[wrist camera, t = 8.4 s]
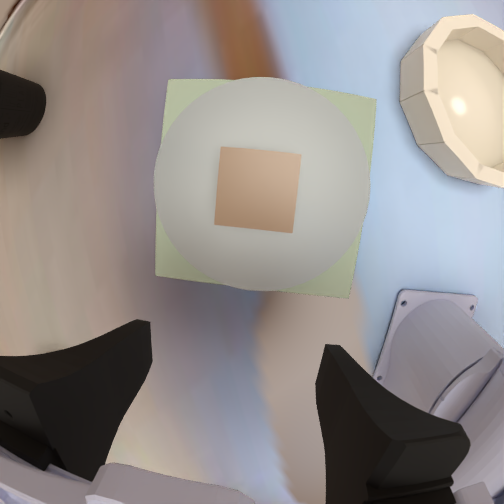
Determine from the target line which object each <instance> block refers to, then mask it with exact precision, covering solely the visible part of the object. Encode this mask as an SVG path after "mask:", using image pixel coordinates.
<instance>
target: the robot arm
mask: <svg viewBox="0 0 504 504" xmlns="http://www.w3.org/2000/svg"><path fill="white" fill-rule="evenodd" d="M404 300H405V303H404V304H402V305H401V302H402V301H404ZM477 302H478V298H477V297H476V296H474V295H465V294H452V293H440V292H428V291H417V290H402V291H401V292H400V293H399V295H398V298H397V302H396V306H395V309H394V313H393V317H392V320H391V323H390V327H389V330H388V333H387V337H386V340H385V343H384V346H383V349H382V352H381V355H380V358H379V361H378V364H377V367H376V369H375V372H374V375H373V378H372V377H371V376H370V375H369V374H368V373H367V372H366V371H365V370H364V369H363V368H362V367H361V366H360V365H359V364H358V363H357V362H356V361H355V360H354V359H353V358H352V357H351V356H350V355H349V354H348V353H347V352H346V351H345V350H344V349H343V348H342V347H341V346H340V345H329V344H325V348H324V353H323V356H322V360H321V364H320V368H319V372H318V376H317V379H316V383H315V385H316V404H317V410H318V415H319V421H320V426H321V431H322V437H323V442H324V449H325V464H326V504H504V349H503V348H502V347H501V346H500V345H499V344H498V343H497V342H496V341H495V340H494V339H493V338H492V337H491V336H490V335H489V334H488V333H487V332H486V331H485V330H484V329H483V328H482V327H480V326H479V325H478V324H477V323H476V322H475V321H474V320H473V319H472V317H473V314H474V311H475V308H476V305H477ZM471 305H472V307H471V308H470V306H471ZM152 362H153V361H152V347H151V330H150V322H148V321H143V320H138V319H136V320H134V321H131V322H129V323H127V324H125V325H123V326H121V327H119V328H116V329H114V330H112V331H110V332H108V333H106V334H104V335H102V336H99V337H97V338H95V339H92V340H90V341H87V342H85V343H82V344H80V345H77V346H74V347H70V348H67V349H64V350H59V351H55V352H50V353H45V354H38V355H29V356H0V504H255V501H254V500H253V499H252V498H250V497H249V496H247V495H245V494H243V493H242V492H240V491H238V490H235V489H231V488H227V487H223V486H219V485H213V484H207V483H201V482H195V481H190V480H185V479H181V478H176V477H171V476H167V475H163V474H159V473H155V472H151V471H147V470H144V469H140V468H137V467H133V466H130V465H124V464H118V463H109V464H106V465H105V462H106V459H107V456H108V453H109V450H110V448H111V445H112V442H113V439H114V437H115V435H116V432H117V430H118V427H119V425H120V423H121V421H122V419H123V417H124V415H125V413H126V412H127V410H128V408H129V407H130V405H131V403H132V401H133V400H134V398H135V396H136V395H137V393H138V391H139V390H140V388H141V386H142V385H143V383H144V381H145V379H146V377H147V374H148V372H149V369H150V367H151V364H152ZM378 376H381V377H379V378H377V377H378Z"/></svg>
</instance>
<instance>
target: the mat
mask: <svg viewBox="0 0 504 504" xmlns="http://www.w3.org/2000/svg"><path fill="white" fill-rule="evenodd" d="M231 81H235V80H221V79H169V80H168V87H167V95H166V103H165V111H164V120H163V129H162V139H161V144H162V142H163V139H164V137H165V135H166V133H167V132H168V130H169V128H170V126H171V125H172V123H173V122H174V121H175V119H176V118H177V117H178V116H179V114H180V113H181V112H182V111H183V110H184V109H185V108H186V107H187V106H188V105H189V104H190V103H192V102H193V101H194V100H195V99H197V98H198V97H199V96H201V95H202V94H204V93H206V92H208V91H209V90H211V89H213V88H215V87H217V86H220V85H222V84H225V83H227V82H231ZM308 88H310V89H312V90H314V91H316V92H317V93H319V94H320V95H322V96H324V97H325V98H327V99H328V100H329V101H330V102H331V103H333V104H334V105H335V106H336V107H337V108H338V109H339V110H340V111H341V112H342V113H343V114H344V115H345V116H346V118H347V119H348V120H349V122H350V123H351V125H352V126H353V128H354V129H355V131H356V132H357V134H358V136H359V138H360V140H361V142H362V145H363V148H364V151H365V154H366V156H367V161H368V166H369V171H370V168H371V159H372V150H373V140H374V128H375V115H376V100H377V99H372V98H368V97H363V96H358V95H353V94H348V93H343V92H337V91H331V90H325V89H319V88H312V87H308ZM362 226H363V224H362ZM361 232H362V227H361V229H360V231H359V233H358V235H357V237H356V239H355V240H354V242H353V243H352V245H351V246H350V247H349V249H348V250H347V251H346V253H345V254H344V255H343V256H342V257H341V258H340V259H339V260H338V261H337V262H336V263H335V264H334V265H333V266H331V267H330V268H329V269H328V270H326V271H325V272H323V273H322V274H320V275H319V276H317V277H315V278H313V279H311V280H309V281H307V282H305V283H303V284H300V285H297V286H294V287H291V288H286V289H281V290H273V291H279V292H289V293H298V294H308V295H317V296H328V297H338V298H349V294H350V289H351V285H352V280H353V275H354V270H355V265H356V260H357V254H358V249H359V243H360V237H361ZM155 276H161V277H168V278H175V279H182V280H190V281H197V282H205V283H213V284H220V285H225V284H222V283H220V282H218V281H216V280H214V279H211V278H210V277H208V276H206V275H205V274H203V273H202V272H200V271H199V270H197V269H196V268H195V267H194V266H192V265H191V264H190V263H189V262H188V261H187V260H186V259H185V258H184V257H183V256H182V255H181V254H180V253H179V252H178V250H177V249H176V248H175V246H174V245H173V244H172V242H171V241H170V239H169V237H168V236H167V234H166V232H165V230H164V228H163V225H162V223H161V221H160V218H159V215H158V211H157V215H156V255H155Z"/></svg>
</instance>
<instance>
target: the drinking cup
mask: <svg viewBox="0 0 504 504" xmlns="http://www.w3.org/2000/svg"><path fill="white" fill-rule="evenodd" d="M45 104H46V97H45V92H44V90H43V88H42V87H41V86H40V85H39V84H37V83H34V82H31V81H29V80H26V79H24V78H21V77H18V76H16V75H13V74H10V73H8V72H5V71H2V70H0V138H8V137H16V136H24V135H28V134H30V133H31V132H32V131H33V130H34V129H35V128H36V127H37V126H38V124H39V123H40V121H41V119H42V117H43V114H44V110H45Z"/></svg>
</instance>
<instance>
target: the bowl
mask: <svg viewBox="0 0 504 504" xmlns="http://www.w3.org/2000/svg"><path fill="white" fill-rule="evenodd" d="M400 104H401V106H402V109H403V111H404V113H405V116H406V118H407V120H408V123H409V125H410V128H411V130H412V133H413V135H414V138H415V141H416V143H417V145H418V146H419V147H420V148H421V149H422V150H423V151H424V152H425V153H426V154H427V155H428V156H429V157H430V158H431V159H432V160H433V161H434V162H435V163H436V164H437V165H438V166H439V167H440V169H441V170H442V171H443V172H444V173H445V174H446V175H447V176H451V177H455V178H459V179H462V180H466V181H469V182H473V183H476V184H480V185H486V186H492V187H498V188H504V31H503V30H501V29H500V28H498V27H496V26H494V25H493V24H491V23H489V22H487V21H485V20H483V19H481V18H480V17H478V16H476V15H473V14H471V15H459V16H449V17H442V18H441V19H440V20H438V21H437V22H436V23H435V24H433V25H432V26H431V27H430V28H429V29H427V30H426V31H425V32H424V33H423V34H421V35H420V36H419V37H418V39H417V40H416V41H415V43H414V44H413V45H412V47H411V48H410V49H409V51H408V52H407V53H406V55H405V56H404V57H403V59H402V60H401V69H400Z"/></svg>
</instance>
